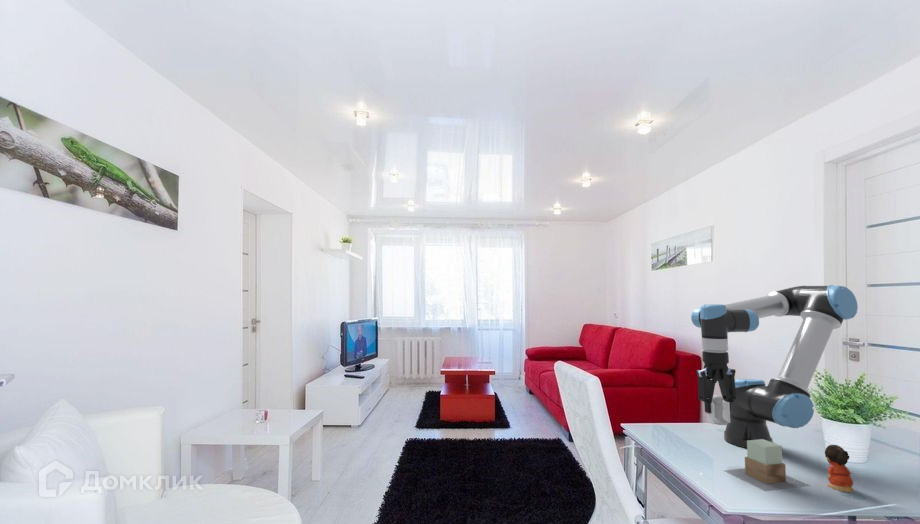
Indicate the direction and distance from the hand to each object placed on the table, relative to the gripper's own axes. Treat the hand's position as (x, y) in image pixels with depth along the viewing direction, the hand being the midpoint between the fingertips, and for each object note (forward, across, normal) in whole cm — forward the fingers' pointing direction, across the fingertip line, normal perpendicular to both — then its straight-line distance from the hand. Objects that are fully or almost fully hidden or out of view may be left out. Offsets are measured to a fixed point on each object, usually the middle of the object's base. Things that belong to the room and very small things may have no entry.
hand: (718, 422), depth 142 cm
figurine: (+13, -17, +24) cm, 32 cm away
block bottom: (+12, -2, +14) cm, 19 cm away
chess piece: (+1, 0, 0) cm, 1 cm away
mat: (+13, -2, +14) cm, 19 cm away
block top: (+7, -2, +14) cm, 16 cm away
